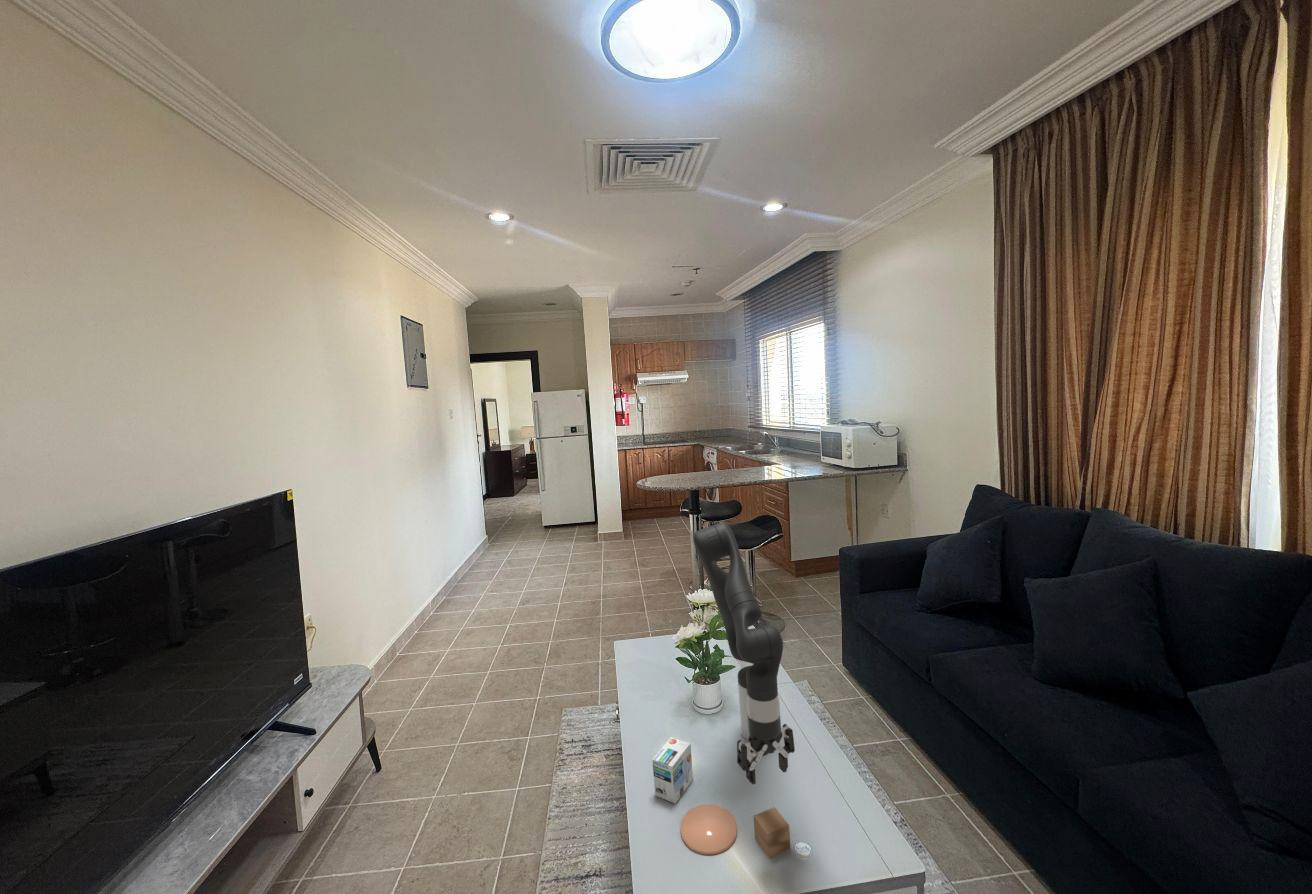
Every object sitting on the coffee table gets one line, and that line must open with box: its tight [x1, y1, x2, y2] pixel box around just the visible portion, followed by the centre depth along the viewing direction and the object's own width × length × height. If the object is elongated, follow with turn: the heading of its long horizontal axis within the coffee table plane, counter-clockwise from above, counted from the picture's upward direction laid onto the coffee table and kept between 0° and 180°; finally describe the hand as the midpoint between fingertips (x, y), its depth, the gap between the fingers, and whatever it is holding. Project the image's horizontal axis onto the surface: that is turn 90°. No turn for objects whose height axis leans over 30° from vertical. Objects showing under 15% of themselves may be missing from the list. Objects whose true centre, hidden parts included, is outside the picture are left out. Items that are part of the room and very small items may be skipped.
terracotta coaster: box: [679, 803, 738, 856], centre depth 129 cm, size 14×14×1 cm
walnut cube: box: [753, 806, 791, 859], centre depth 124 cm, size 6×6×6 cm
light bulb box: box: [651, 736, 694, 804], centre depth 144 cm, size 11×7×11 cm, turn 148°
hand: (767, 776), depth 122 cm, fingers open, 8 cm apart
